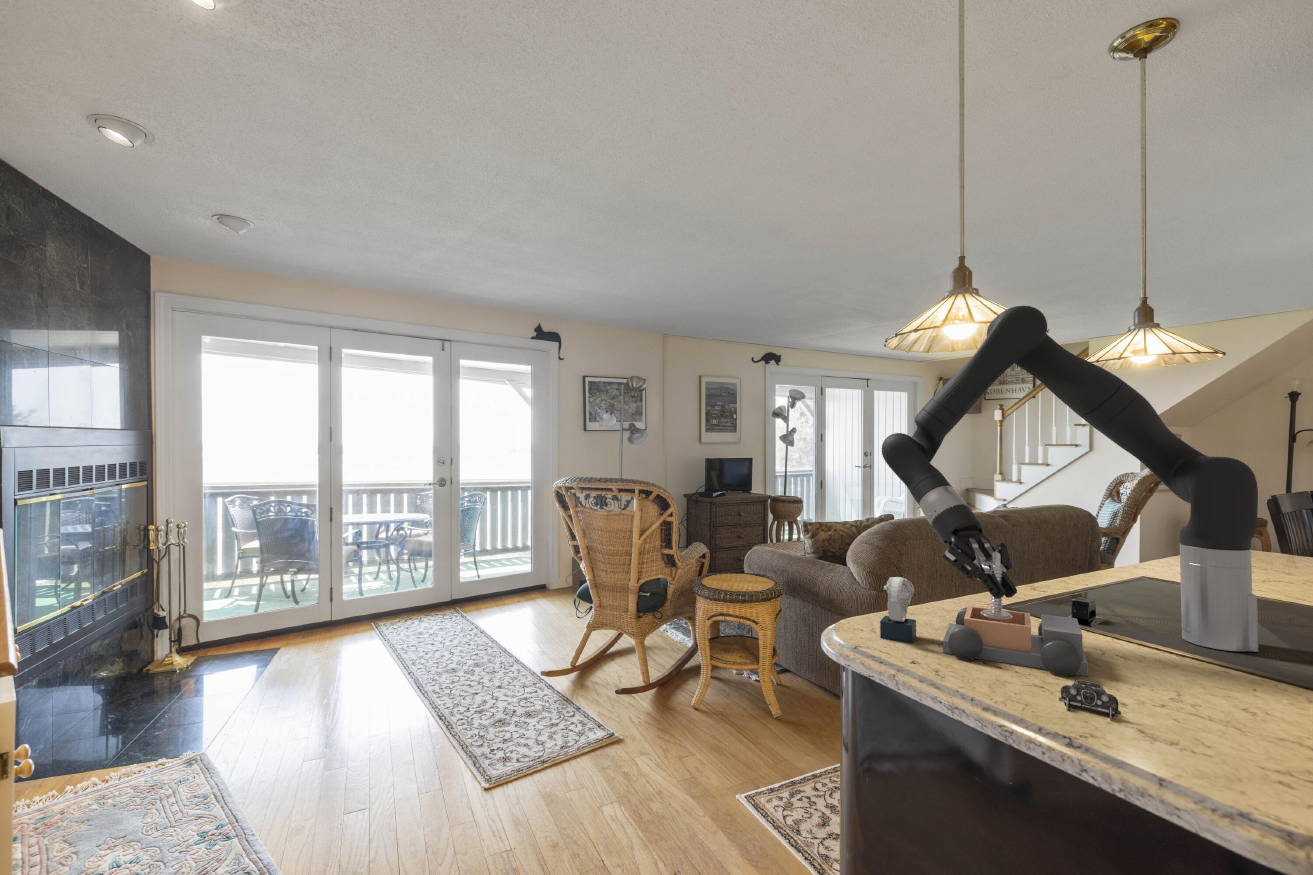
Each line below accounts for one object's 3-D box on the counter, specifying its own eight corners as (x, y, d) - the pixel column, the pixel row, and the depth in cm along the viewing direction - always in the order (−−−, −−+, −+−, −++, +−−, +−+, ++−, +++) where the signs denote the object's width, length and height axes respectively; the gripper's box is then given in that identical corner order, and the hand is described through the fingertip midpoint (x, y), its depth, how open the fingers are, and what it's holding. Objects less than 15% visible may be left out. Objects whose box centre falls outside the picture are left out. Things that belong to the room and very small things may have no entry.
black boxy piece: (1075, 613, 125) (1075, 592, 125) (1117, 621, 119) (1117, 599, 119) (1051, 623, 118) (1051, 600, 118) (1095, 632, 112) (1094, 608, 112)
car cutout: (1054, 717, 77) (1054, 682, 77) (1060, 700, 82) (1060, 668, 82) (1211, 755, 67) (1210, 716, 67) (1207, 733, 72) (1206, 697, 72)
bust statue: (917, 633, 110) (916, 575, 110) (910, 645, 103) (909, 583, 103) (886, 629, 113) (885, 572, 113) (877, 640, 106) (876, 580, 106)
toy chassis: (1079, 649, 101) (1078, 614, 101) (1089, 680, 87) (1088, 640, 87) (950, 630, 111) (950, 599, 111) (941, 656, 98) (941, 620, 98)
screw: (974, 623, 102) (996, 621, 104) (996, 632, 98) (1019, 629, 99) (973, 549, 102) (995, 548, 104) (996, 554, 98) (1019, 553, 99)
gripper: (930, 504, 106) (989, 586, 94) (989, 501, 110) (1051, 580, 98) (909, 529, 111) (962, 610, 99) (966, 526, 115) (1023, 603, 103)
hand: (1006, 595), depth 99 cm, fingers closed on screw, 2 cm apart
